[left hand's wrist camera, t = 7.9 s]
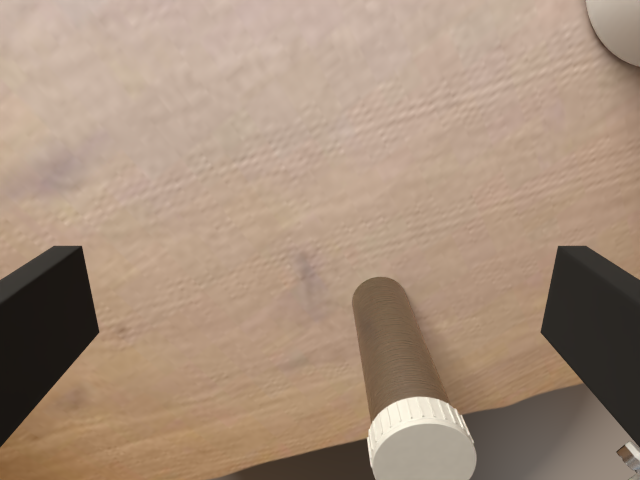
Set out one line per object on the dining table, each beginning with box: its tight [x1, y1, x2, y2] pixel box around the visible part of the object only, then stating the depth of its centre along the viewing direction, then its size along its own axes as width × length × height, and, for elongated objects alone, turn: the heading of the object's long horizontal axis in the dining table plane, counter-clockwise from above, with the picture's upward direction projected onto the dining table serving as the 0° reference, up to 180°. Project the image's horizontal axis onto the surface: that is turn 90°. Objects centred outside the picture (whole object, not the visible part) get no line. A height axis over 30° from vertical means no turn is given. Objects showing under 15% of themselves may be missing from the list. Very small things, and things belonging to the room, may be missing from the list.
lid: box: [367, 397, 477, 480], centre depth 25 cm, size 6×6×2 cm
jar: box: [352, 277, 451, 425], centre depth 33 cm, size 5×5×18 cm
